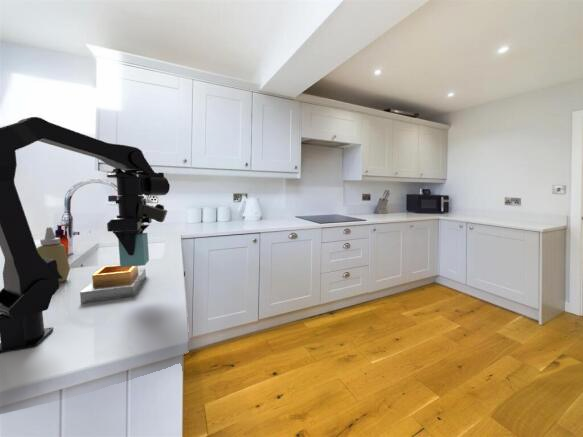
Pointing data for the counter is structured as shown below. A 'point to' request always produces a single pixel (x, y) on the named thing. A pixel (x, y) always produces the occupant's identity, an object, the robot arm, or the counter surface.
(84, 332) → the counter surface
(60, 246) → the squeeze bottle
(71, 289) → the counter surface
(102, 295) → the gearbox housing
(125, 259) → the oil can
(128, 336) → the counter surface
